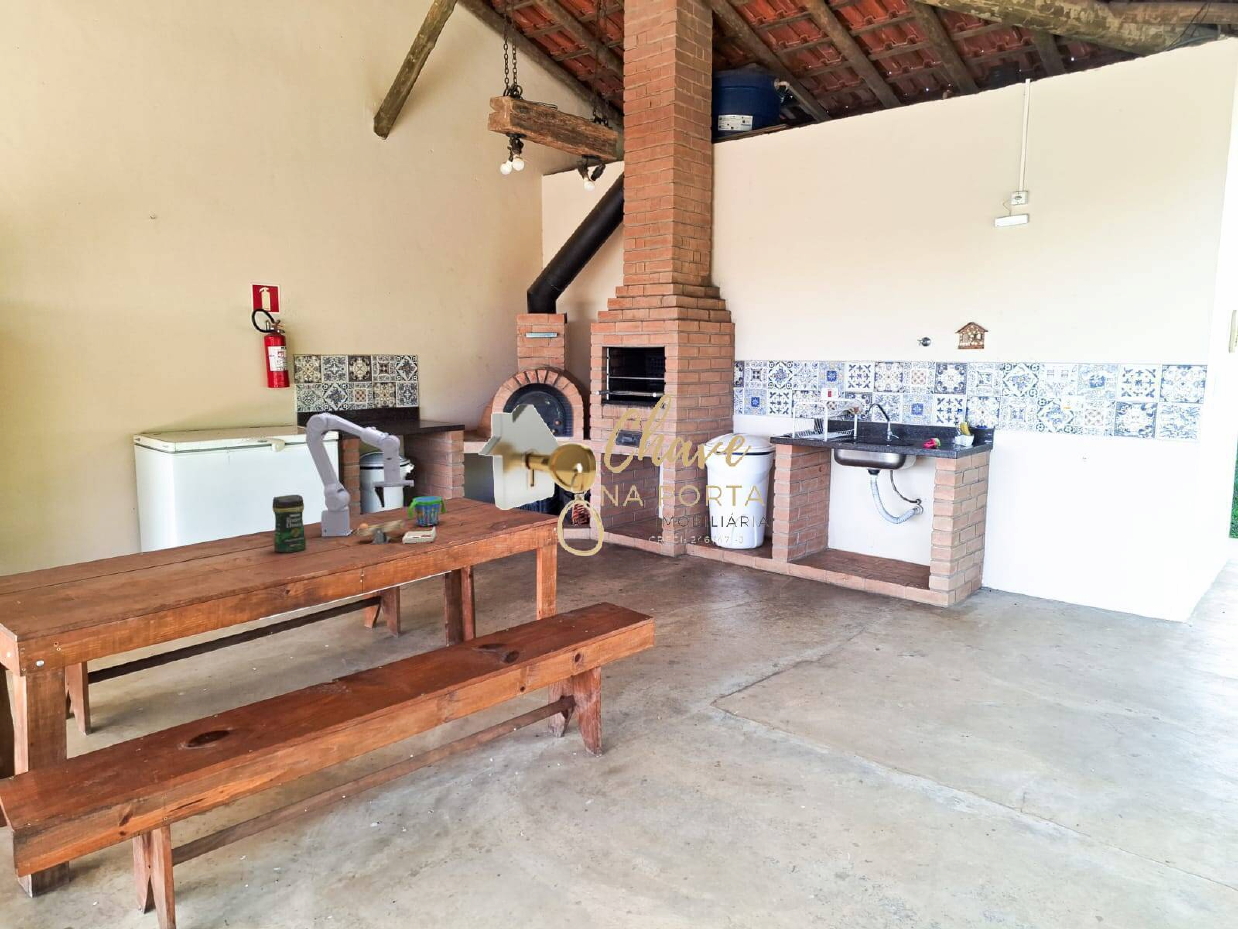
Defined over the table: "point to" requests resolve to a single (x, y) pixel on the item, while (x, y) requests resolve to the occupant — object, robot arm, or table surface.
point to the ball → (364, 527)
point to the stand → (380, 537)
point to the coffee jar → (289, 523)
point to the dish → (409, 536)
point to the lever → (382, 527)
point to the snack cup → (426, 509)
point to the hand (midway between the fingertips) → (394, 506)
